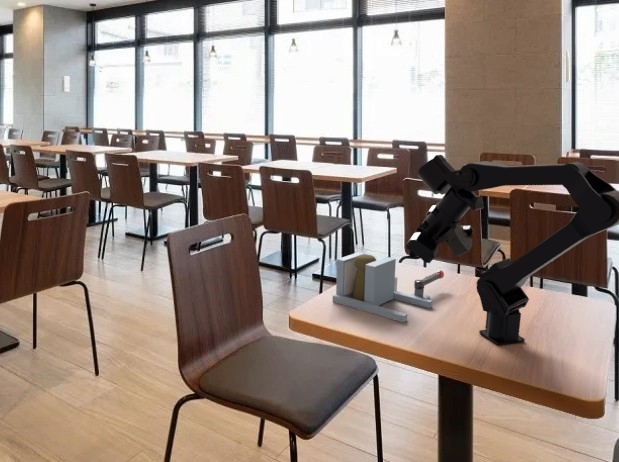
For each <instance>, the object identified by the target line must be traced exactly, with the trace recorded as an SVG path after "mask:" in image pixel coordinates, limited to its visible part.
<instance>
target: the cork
mask: <svg viewBox="0 0 619 462" xmlns="http://www.w3.org/2000/svg"><path fill="white" fill-rule="evenodd" d="M374 261H377V258H376V257H375V256H374V255H372V254H365V255H359V256H357V257H356V259H355V266H356V268H357V271H356V277H355V283H354V289H353V295H352V297H351V298H353V299H356V300H360V301H363V302H364V295H365V267H366V264H369V263H371V262H374Z"/></svg>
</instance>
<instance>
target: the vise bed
mask: <svg viewBox="0 0 619 462" xmlns="http://www.w3.org/2000/svg"><path fill="white" fill-rule="evenodd" d="M359 255H366V253H365V252H361V251H357V252H355V253H352V254H348V255H346V256H343V257H340V258H337V259H336V280H335V281H336V283H335V284H336V287H335V288H336V289H335V294H332V302H333V303H337V304H340V305H344V306H346V307H350V308H353V309H357V310H359V311H364V312H365V313H366V312H367V313H371V314H373V315H376V316H380V317H383V318H387V319H389V320H393V321H397V322H400V323H405V322H407V321H408V313H406V312H405V313H404V312H401V311H398V310H396V309H395V310H394V309H391V308H387V307H383V306H382V305H379V306H377V305H374V304H370V303H367V302H363V301H360V300H356V299H353V298H352V295H353V289H354V283H355V277H356V271H357V268H356V266H355V259H356V257H357V256H359ZM413 290H414V293H412V294H409V293H406V292H401V291H398V276H395V285H394V299H393V300H398V301H401V302H405V303H408V304H412V305H415V306H420V307H422V308H428V309H431V308H432V307H433V300H432V299H431V295H426V294H424V290H425V287H424V288H423V289H417V288H415V287H414V289H413Z"/></svg>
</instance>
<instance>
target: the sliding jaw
mask: <svg viewBox="0 0 619 462" xmlns="http://www.w3.org/2000/svg"><path fill="white" fill-rule="evenodd" d="M396 261H397V260H396V258H395V257H389V256H385V257H383V258H380V259H376V261H374V262H371V263H369V264H366V267H365V295H364V302H367V303H370V304H374V305H377V306H382V305H383V304H385V303H387V302H389V301H392V300H395V299H394V285H395V277H396Z"/></svg>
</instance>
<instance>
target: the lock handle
mask: <svg viewBox="0 0 619 462" xmlns="http://www.w3.org/2000/svg"><path fill="white" fill-rule="evenodd" d="M444 276H445V272H444V271H443V270H440V269H438V270H437V271H436V272H434V273H432V274H431V275H427V276H426V277H423V278H422V279H415V280H414V284H413V286H414V289H415V288H417V289H423V288H424V289H425V286H426V285H428V284H429V285H430V284H431V283H433V282H435V281H437V280H438V279H440V280H441V279H443V278H444Z"/></svg>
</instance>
